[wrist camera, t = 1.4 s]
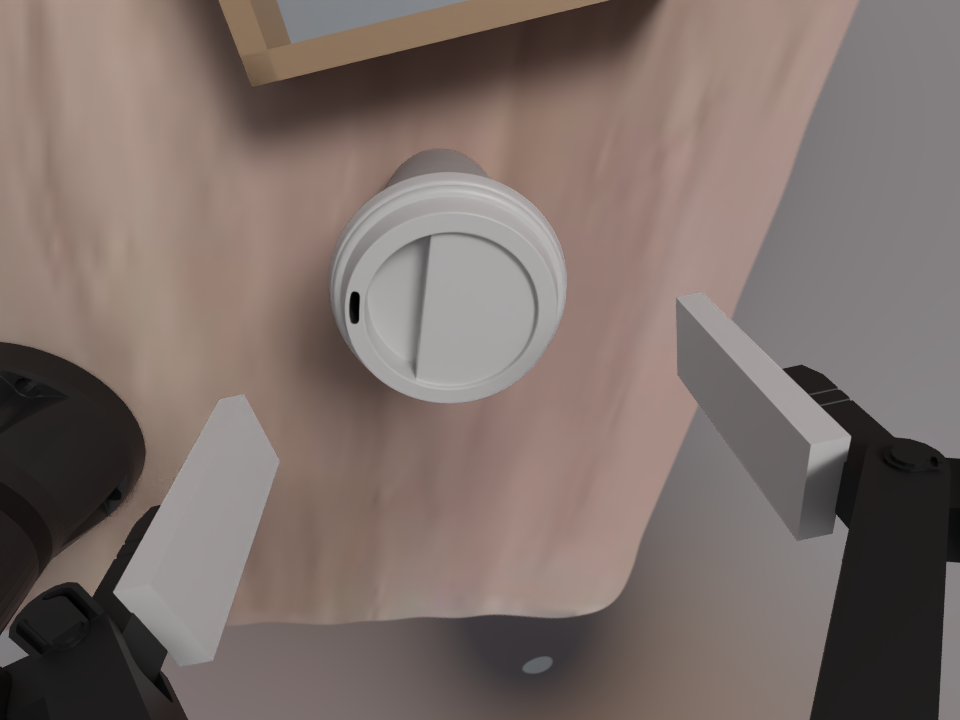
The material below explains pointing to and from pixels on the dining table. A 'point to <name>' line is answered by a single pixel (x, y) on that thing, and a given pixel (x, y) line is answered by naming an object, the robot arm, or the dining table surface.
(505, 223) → the coffee cup
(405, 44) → the tray
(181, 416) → the dining table surface
